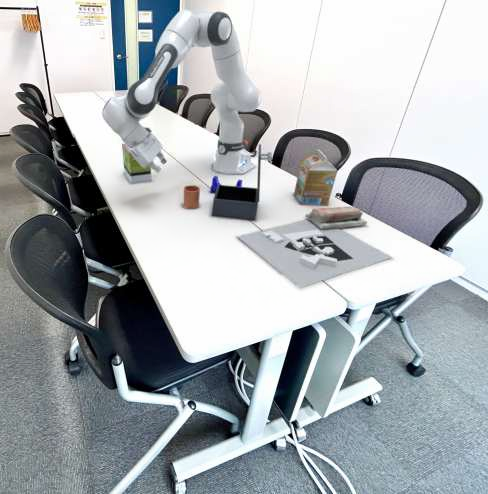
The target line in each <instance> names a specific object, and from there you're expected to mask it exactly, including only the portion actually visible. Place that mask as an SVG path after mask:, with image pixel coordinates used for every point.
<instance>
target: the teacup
mask: <svg viewBox="0 0 488 494" xmlns="http://www.w3.org/2000/svg"><path fill="white" fill-rule="evenodd" d="M200 195H201V187H200V186H198V185H185V186H183V203H182V205H183V207H184V208H185V209H190V210H195V209H197V208H199V207H200V199H201V197H200Z"/></svg>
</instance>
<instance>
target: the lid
mask: <svg viewBox="0 0 488 494" xmlns="http://www.w3.org/2000/svg"><path fill="white" fill-rule="evenodd" d="M257 153H258V154H257V185H256V188H257V202H258V203H260V190H261V163H262V161H263V160H267V161H269V162H271V161H272V160H273V152H271V151H269V152H267V153H262V144H260V143H259V144H258V152H257Z"/></svg>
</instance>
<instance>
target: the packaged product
mask: <svg viewBox="0 0 488 494" xmlns="http://www.w3.org/2000/svg"><path fill="white" fill-rule="evenodd" d="M304 216H305V218H307V220H311V221H312V222H313V223H314V224H316V225H317V226H318V227H320V228H321V229H326V228H338V229H341V228H343V229H345V228H351V227H360V226H362V227H363V226H366V225H367V224H368V221H367V220H365V219H363V218H362V216H363V211H361V209H360V208H357V207H353V206H333V207H315V208H312V209H311V212H310V213H306V214H305V215H304Z"/></svg>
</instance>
